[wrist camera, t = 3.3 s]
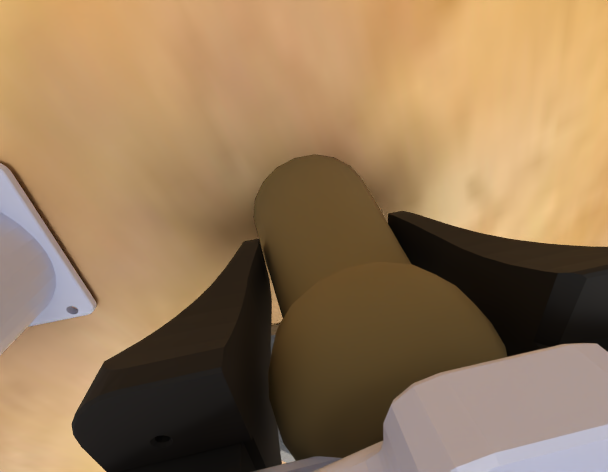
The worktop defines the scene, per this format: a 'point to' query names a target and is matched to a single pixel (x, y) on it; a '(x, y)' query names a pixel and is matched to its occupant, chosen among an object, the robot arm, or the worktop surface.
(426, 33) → the worktop surface
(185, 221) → the worktop surface
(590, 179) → the worktop surface
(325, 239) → the olive brown pawn
